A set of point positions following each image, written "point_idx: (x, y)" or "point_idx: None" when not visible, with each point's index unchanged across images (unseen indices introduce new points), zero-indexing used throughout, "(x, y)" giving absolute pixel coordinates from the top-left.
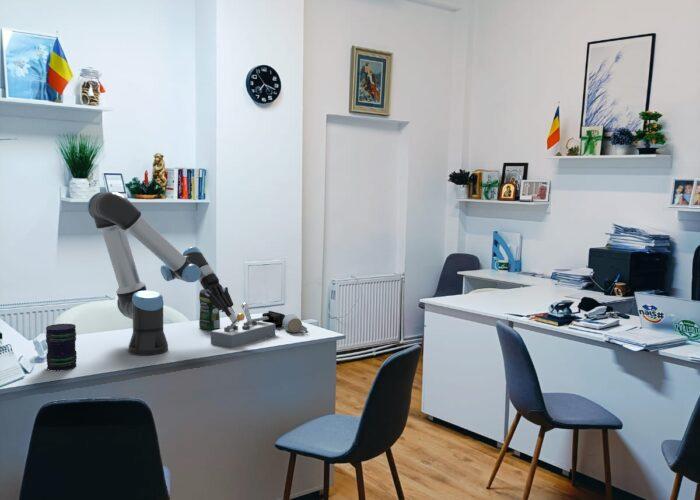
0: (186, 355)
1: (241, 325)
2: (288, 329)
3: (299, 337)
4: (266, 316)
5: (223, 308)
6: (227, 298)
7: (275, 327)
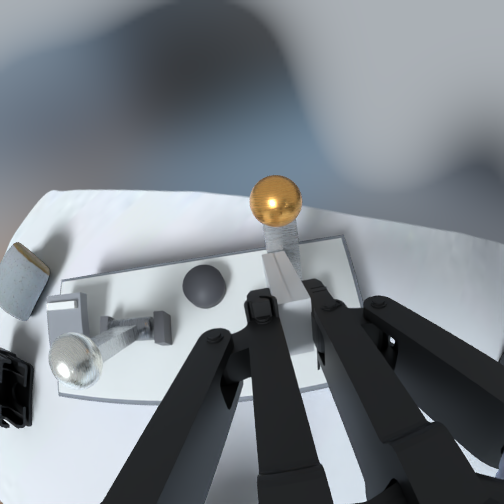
0: (480, 272)
1: (165, 370)
2: (47, 274)
3: (80, 221)
4: (47, 303)
5: (357, 312)
6: (207, 430)
7: (28, 363)
